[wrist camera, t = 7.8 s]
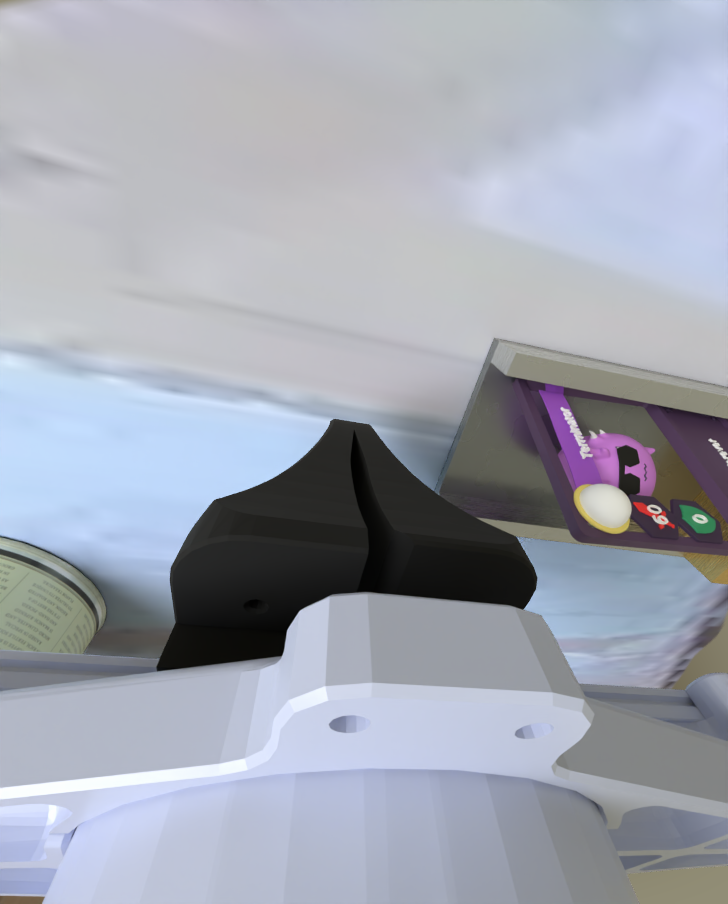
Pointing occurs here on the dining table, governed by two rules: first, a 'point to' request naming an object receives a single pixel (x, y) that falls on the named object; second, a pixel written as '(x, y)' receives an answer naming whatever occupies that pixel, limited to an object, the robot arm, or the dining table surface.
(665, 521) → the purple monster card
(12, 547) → the coffee can
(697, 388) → the drawer
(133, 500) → the dining table surface
